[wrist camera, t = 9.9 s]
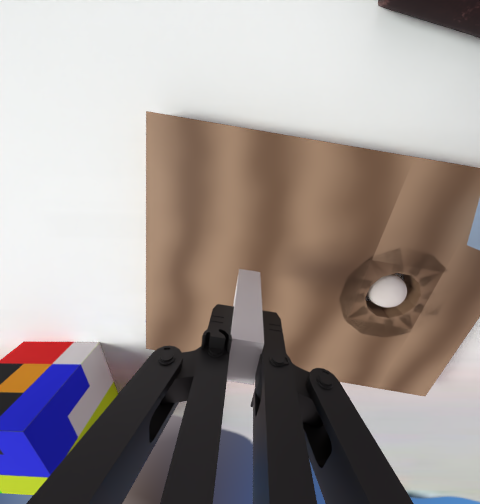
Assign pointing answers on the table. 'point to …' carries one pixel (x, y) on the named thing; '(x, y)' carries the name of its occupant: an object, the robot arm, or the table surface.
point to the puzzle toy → (48, 407)
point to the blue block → (475, 230)
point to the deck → (311, 247)
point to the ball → (388, 291)
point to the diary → (441, 12)
